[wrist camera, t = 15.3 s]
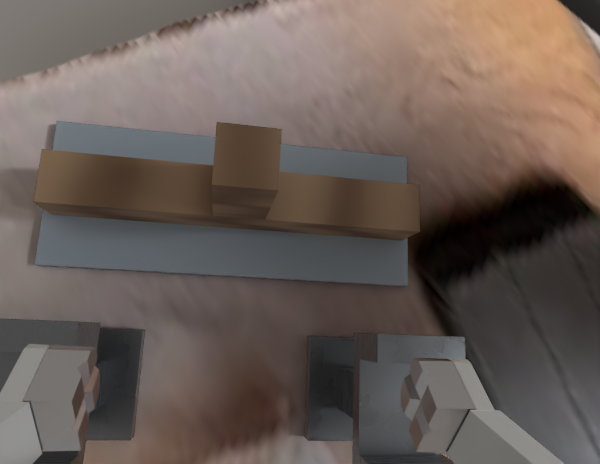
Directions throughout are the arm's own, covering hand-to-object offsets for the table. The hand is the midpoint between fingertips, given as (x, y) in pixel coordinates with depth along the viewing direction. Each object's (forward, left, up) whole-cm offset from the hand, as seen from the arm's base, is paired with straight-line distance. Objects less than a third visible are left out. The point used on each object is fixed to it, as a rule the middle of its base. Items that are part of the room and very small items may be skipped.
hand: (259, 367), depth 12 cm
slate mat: (0, -9, -17) cm, 19 cm away
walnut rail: (0, -9, -17) cm, 19 cm away
